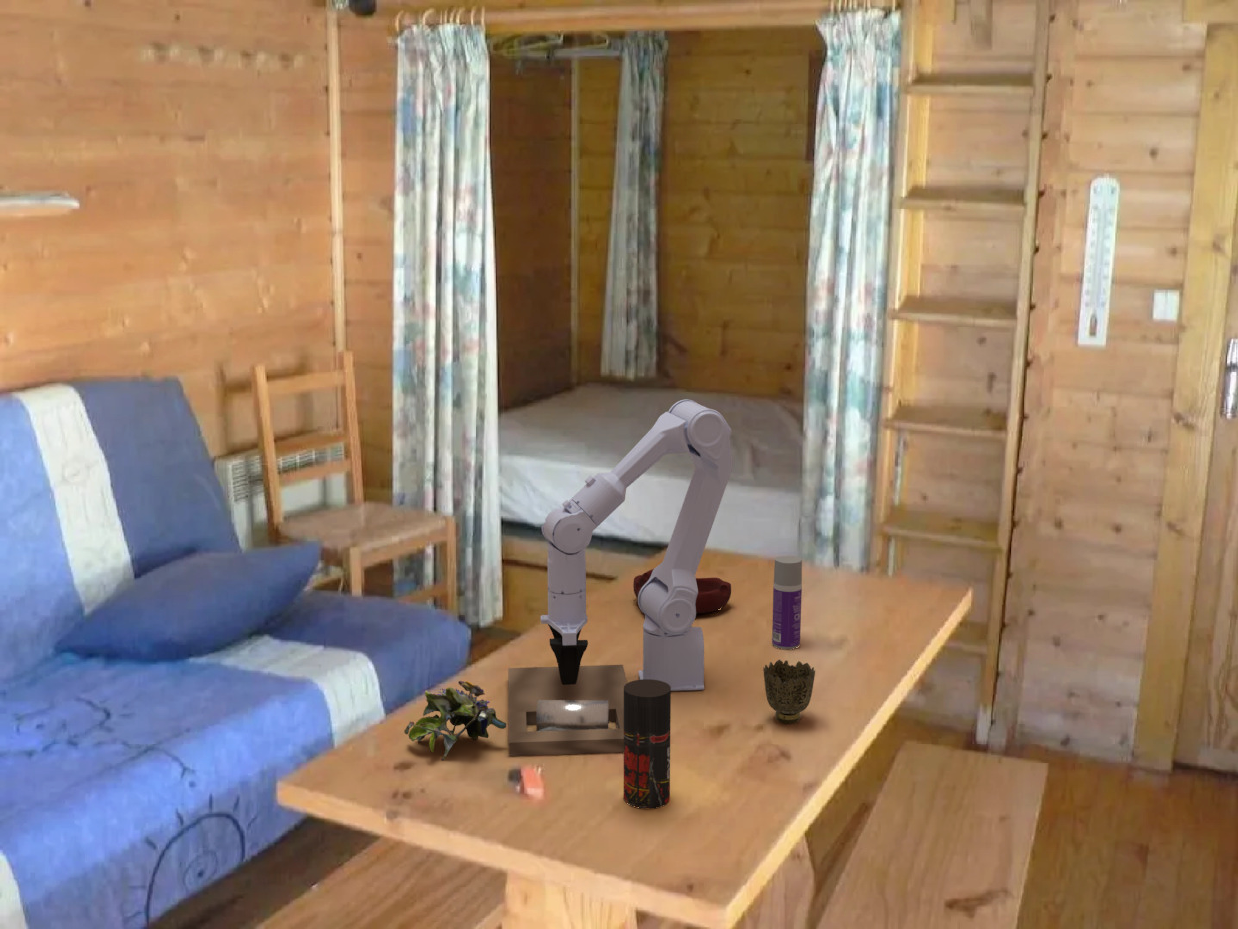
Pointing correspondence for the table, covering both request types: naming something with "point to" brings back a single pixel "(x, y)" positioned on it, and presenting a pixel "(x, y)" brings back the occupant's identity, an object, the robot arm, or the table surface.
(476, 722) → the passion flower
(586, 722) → the roller
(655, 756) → the deodorant
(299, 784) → the table surface
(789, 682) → the cup
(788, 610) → the container
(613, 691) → the grey brown board
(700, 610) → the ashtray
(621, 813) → the table surface
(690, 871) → the table surface
